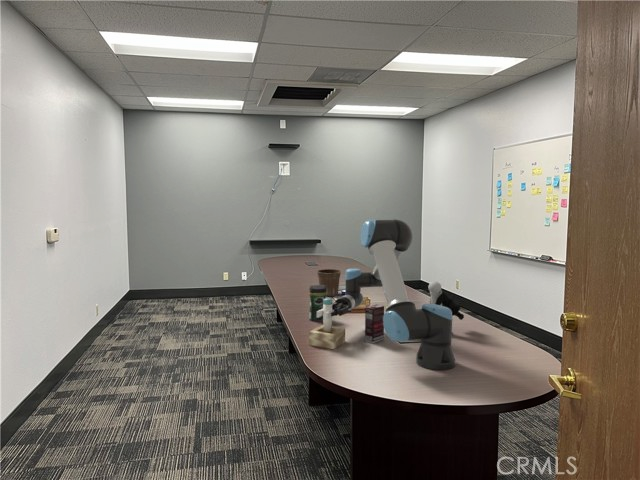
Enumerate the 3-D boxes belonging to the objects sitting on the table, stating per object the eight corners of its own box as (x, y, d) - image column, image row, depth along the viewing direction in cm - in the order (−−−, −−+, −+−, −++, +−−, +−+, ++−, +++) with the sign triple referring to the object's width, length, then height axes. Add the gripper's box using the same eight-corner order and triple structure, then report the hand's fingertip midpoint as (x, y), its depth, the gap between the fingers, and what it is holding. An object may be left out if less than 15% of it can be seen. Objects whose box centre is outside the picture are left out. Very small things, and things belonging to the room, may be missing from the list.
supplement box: (376, 337, 218) (376, 304, 217) (384, 339, 215) (385, 305, 213) (364, 341, 212) (364, 307, 211) (372, 343, 209) (373, 308, 207)
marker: (333, 329, 209) (333, 298, 208) (329, 331, 206) (329, 300, 204) (325, 328, 211) (325, 297, 210) (321, 330, 208) (321, 299, 206)
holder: (345, 341, 211) (345, 328, 211) (333, 349, 201) (333, 335, 200) (321, 337, 217) (321, 325, 216) (309, 344, 206) (309, 331, 206)
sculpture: (413, 329, 232) (414, 279, 230) (453, 325, 240) (454, 277, 238) (430, 338, 218) (431, 285, 215) (472, 333, 226) (474, 282, 223)
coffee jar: (325, 317, 254) (325, 283, 252) (327, 320, 246) (328, 286, 245) (308, 317, 253) (308, 283, 251) (309, 321, 245) (309, 286, 243)
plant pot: (328, 298, 301) (328, 273, 299) (311, 294, 313) (311, 270, 311) (346, 295, 312) (346, 271, 310) (329, 291, 324) (329, 268, 322)
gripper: (360, 314, 220) (339, 326, 199) (328, 309, 228) (305, 321, 207) (361, 298, 219) (339, 309, 199) (328, 294, 227) (305, 304, 207)
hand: (322, 315), depth 203 cm, fingers closed on marker, 4 cm apart
